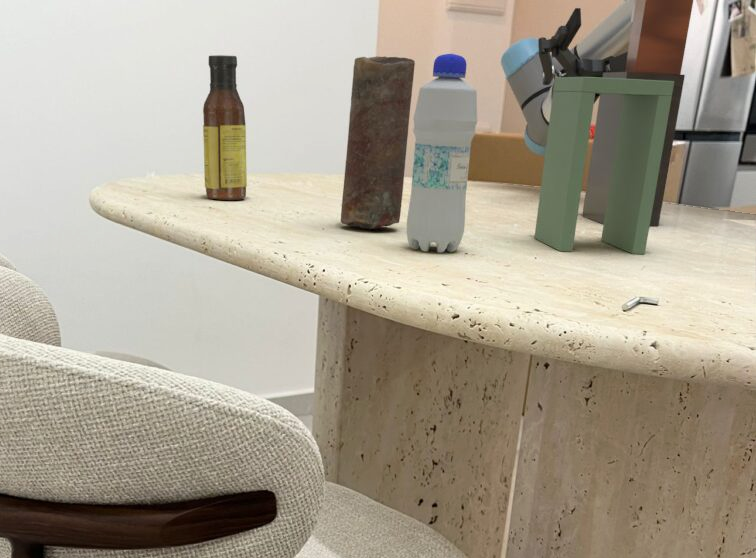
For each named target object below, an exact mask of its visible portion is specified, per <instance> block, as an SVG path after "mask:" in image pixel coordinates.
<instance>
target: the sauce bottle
mask: <svg viewBox="0 0 756 558" xmlns="http://www.w3.org/2000/svg"><path fill="white" fill-rule="evenodd" d="M237 59H238V58H237V56H236V55H228V54H227V55H225V54H224V55H223V54H215V55H208V66H209V77H210V79H209V80H210V83H209V93H208V94H207V96H206V99H205V101H204V103H203V107H202V110H203V111H202V113H203V125H202V133H203V137H202V138H203V165H204V169H203V170H204V171H203V172H204V188H205V192H206V193H205V194H206V197H207V198H208V199H210V200H217V201H218V200H219V201H238V200H243V199H245V198H246V197H247V186H248V185H247V184H248V183H247V181H248V180H247V176H248V175H247V131H246V130H247V127H246V116H245V114H246V113H245V107H244V104H243V101H242V99H241V96H240V94H239V92H238V89H237V86H238V84H237V67H238V60H237Z"/></svg>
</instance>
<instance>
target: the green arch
mask: <svg viewBox="0 0 756 558" xmlns="http://www.w3.org/2000/svg"><path fill="white" fill-rule="evenodd" d="M673 86H674V81H659V80H640V79H620V78H600V77H556V78H555V82H554V90H553V98H552V105H551V113H550V121H549V129H548V136H547V144H546V152H545V156H544V160H543V168H542V176H541V183H540V190H539V197H538V198H539V199H538V206H537V215H536V222H535V229H534V239H535V240H537V241H540V242H542V243H543V244H545V245H547V246H549V247H551V248H553V249H555V250H557V251H558V252H571V253H572V252H573V250H574V243H575V238H576V237H575V236H576V230H577V229H576V228H577V222H578V217H579V209H580V201H581V195H582V189H583V188H582V187H583V181H584V175H585V174H584V173H585V168H586V167H585V166H586V161H587V153H588V147H589V139H590V133H591V126H592V118H593V112H594V105H595V103H594V99H595V93H601V94H622V95H624V96H623V102H622V108H621V115H620V121H619V128H618V134H617V141H616V147H615V154H614V160H613V167H612V173H611V180H610V186H609V192H608V199H607V205H606V212H605V218H604V224H602V232H601V238H600V241H602V242H604V243H606V244H609V245H611V246H613V247H615V248H618V249H620V250H623V251H624V252H627V253H630V254H631V255H645V254H646V248H647V242H648V238H649V233H650V227H651V226H650V220H651V214H652V209H653V203H654V197H655V191H656V185H657V180H658V174H659V168H660V162H661V156H662V151H663V145H664V139H665V133H666V127H667V121H668V116H669V110H670V104H671V98H672V92H673Z"/></svg>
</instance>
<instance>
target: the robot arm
mask: <svg viewBox="0 0 756 558" xmlns="http://www.w3.org/2000/svg"><path fill="white" fill-rule="evenodd" d="M633 4H634V0H625V1H623V2H622V3H621V4H620V5H619V6H618V7H617V8H616V9H614V11H612V12H611V13H610V14H609V15H607V17H605V19H603V20H602V21H601V22H600V23H599V24H598V25H596V27H595V28H593V29H592V30H591V31H590V32H589V33H588V34H586V36H584V37H583V38H582V39H581V40H580V41H578V43H577V44H576V45H574V46H573V47H572V48H571V49H569V46H570V45H571V43H572V41H573V40H574V38H575V37H576V35H577V34H578V32H579V30H580V28H581V27H582V12H581V7H575V8H574V10H573V11H572V13H571V15H570V16H569V19H568V20H567V22H566V24H565V25H560V26H559V27H558V28H557V30H556V32H555V33H554V35H553V36H551V37H550V38H549V39H547V38H546V37H543V36H542V37H539V38H538V39H537V38H535V37H526V38H523V39H520V40H519V41H517V42H515V43H513V44H512V45H510V46H509V47H508V48H507V49H506V50H505V51H504V53H503V54H502V55H501V58H500V65H501V67H502V70H503V73H504V75H505V79H506V81H507V83H508V85H509V87H510V89H511V91H512V94H513V95H514V97H515V100H516V101H517V103H518V106H519V108H520V110H521V112H522V115H523V117H524V119H525V121H526V123H527V124H526V125H525V130H524V134H523V137H524V139H523V140H524V143H525V145H526V147H527V148H528V149H529V150H530V151H531V152H532V153H534V154H536V155H538V156H544V157H545V152H546V144H547V136H548V129H549V121H550V113H551V105H552V98H553V90H554V82H555V78H556V77H600V78H602V77H603V73H608V72H625V68H626V62H627V55H628V49H629V42H630V36H631V29H632V23H631V17H632V11H633ZM599 98H600V93H595V99H594V104H596V102H597V101H598V100H599Z"/></svg>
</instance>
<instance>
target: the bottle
mask: <svg viewBox="0 0 756 558" xmlns="http://www.w3.org/2000/svg"><path fill="white" fill-rule="evenodd" d="M466 75H467V60H466V59H465V57H463V56H461V55H459V54H456V53H455V54H454V53H445V54H440V55H438V56H437V57H436V58H435V60H434V62H433V69H432V77H435V78H434V79H432V80H430V81H429V82H427V83H425V84H424V85H422V86H421V87H419V91H418V96H417V101H416V105H415V110H414V114H413V116H412V117H413V123H414V124H413V125H414V126H413V129H412V132H413V134H414V137H415V141H414V152H413V153H414V154H413V164H412V165H413V166H412V177H411V189H410V197H409V203H408V204H409V205H408V211H407V218H406V236H407V237H406V238H407V242H408V243H407V244H408V245H409V247H410V248H411V249H413V250H419V248H420V250H421V251H422V252H424V253H427V252H429V250H430V246H431V243H435V245H436V252H437V253H439V254H442V253H444V252H445V251H447V252H448V253H453V252H455V251H456V250H457V249H458V248H459V247H460V244H461V241H462V239H463V236H464V233H465V225H466V198H467V188H468V180H469V179H468V178H469V169H470V168H469V167H470V158H471V149H472V141H473V139H474V137H475V136H476V128H477V126H476V125H477V123H478V101H477V99H478V95H477V89H476V88H474V87H473V86H471V85H470V84H469V83H467V82H466V81H465V80H463V79H466Z"/></svg>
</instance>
